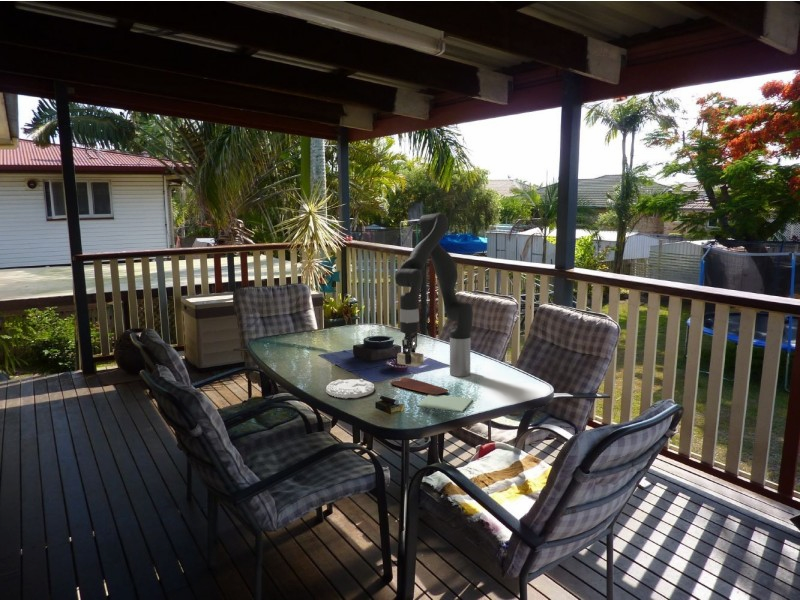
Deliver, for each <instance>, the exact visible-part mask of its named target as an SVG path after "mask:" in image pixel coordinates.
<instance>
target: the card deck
mask: <svg viewBox="0 0 800 600" xmlns="http://www.w3.org/2000/svg"><path fill="white" fill-rule="evenodd" d="M396 359H397V360H396V361H397V365H403V366H408V367H414V368H417V367H419V366H422V365H424V363H425V362H424V354H423V353H420V352H419V353H418V352H415V353H414V352H411V364H406V363H405V354H403V351H401V352H398V353H397V357H396Z"/></svg>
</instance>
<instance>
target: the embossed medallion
mask: <svg viewBox="0 0 800 600" xmlns="http://www.w3.org/2000/svg"><path fill="white" fill-rule="evenodd" d="M374 385H375V384H374V383H373V382H370V381H368V380H364V378H359V379H350V378H349V379H336V380H334V381H331V382H329V384H327V385H326V388H325V389H326V393H327V394H328V395H330V396H332V397H333V396H334V398H336V397H337V398H342V399H346V400H347V399H348V398H350V399H351V398H352V399H358V398H361V397H364V396H368V395H371V394H372V393H373V392H374V391H375V386H374Z"/></svg>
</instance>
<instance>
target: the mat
mask: <svg viewBox="0 0 800 600" xmlns="http://www.w3.org/2000/svg"><path fill="white" fill-rule="evenodd" d="M472 400H473V401H474V399H473V398H469V397H461V396H452V395H451V396H449V395H442V394H429V393H428V394H427V395H426V397H424V398H423V399H422V400H421V401H420V402H419V403H417V404H416V407H419V408H425V407H426V408H427V409H433V408H435V409H434V410H440V409H442V410H441V411H448V410H453V411H452V412H456V411H460V412H459V413H463V412H464V411H465V410H466V409H467V407H469V405H470V404H471V403H472V402H473V401H472ZM471 401H472V402H471ZM465 408H466V409H465ZM464 409H465V410H464ZM463 410H464V411H463Z"/></svg>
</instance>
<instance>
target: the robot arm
mask: <svg viewBox="0 0 800 600" xmlns="http://www.w3.org/2000/svg"><path fill="white" fill-rule="evenodd" d="M418 222H419V223H418V225H419V230H420V233H421V235H422V238H423V239H422V240H421V241H420V242H419V243H418V244H416V245H415V247H413V249H412V250H411V253H410V255H409V257H408V258H407V260H405V262H403V264H401V266H400V267H399V268H398V269H397V271H396V272H395V276H394V281H395V283H396V285H397V286H399V287H400V288H401V287H403V288H410V291H408V292H403V293H401V294H400V297H399V300H400V301H399V302H400V303H399V306H400V307H399V308H400V309H399V331H400V332H401V333H402V334H404V337H403V339H402V340H401V343H402V344H401V345H402V352H403V354H405V363H406V364H411V352H414V353H416V350H417V347H418V332H420V311H419V310H420V309H419V296H420V291H421V287H422V284H423V281H424V280H423V277H424V276H423V273H422V272H421V271H422V270H424V268H425V266H426V264H427V262H428V260H429V258H431V263H432V265H433V269H434V273H435V275H436V279H437V281H438V285H439V288H440V292H441V296H442V301H443V307H444V312H445V315H446V317H447V318H448V319H449V320H450V321H452V322H457V325H456V326H457V327H456V328H452V329H451V330H449V375H451V376H453V377H458V378H459V377H460V378H461V377H467V376H468V377H469V376H471V334H472V330H473V321H474V320H473V319H474V318H473V316H474V310H473V306H472V304H471V303H469V302H466V301H461V300H460V301H459V300H458V298H457V296H456V291H455V290H456V289H455V287H456V285H457V281H458V274H459V273H458V270H457V266H456V263H455V260H454V258H453V256H452V255H451V254H450V253H448V251H446V249H445V248H444V247H443V246H442V245H441V244H440V241H441V240H442V239H443V238H444V236H445V235H446V234H447V232H448V229H449V219H448V217H447V215H446V214H445V213H443V212H437V213H429V214H428V213H427V214H423V215H422V216H420V218H419V221H418Z"/></svg>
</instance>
